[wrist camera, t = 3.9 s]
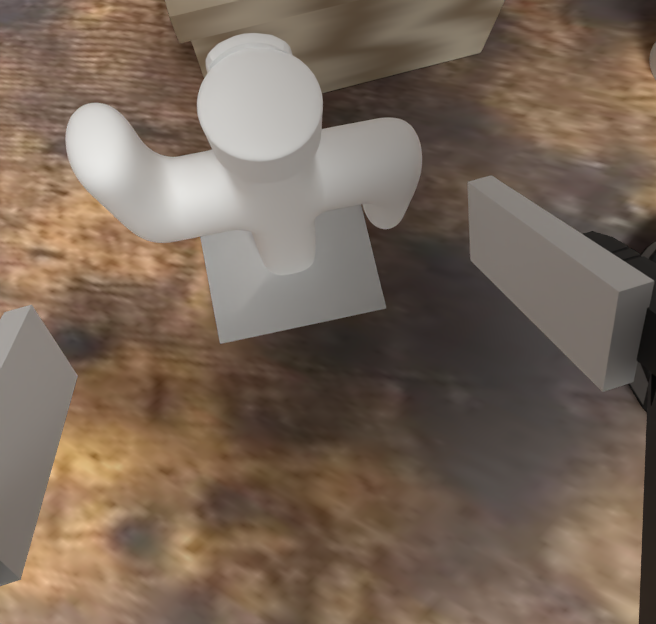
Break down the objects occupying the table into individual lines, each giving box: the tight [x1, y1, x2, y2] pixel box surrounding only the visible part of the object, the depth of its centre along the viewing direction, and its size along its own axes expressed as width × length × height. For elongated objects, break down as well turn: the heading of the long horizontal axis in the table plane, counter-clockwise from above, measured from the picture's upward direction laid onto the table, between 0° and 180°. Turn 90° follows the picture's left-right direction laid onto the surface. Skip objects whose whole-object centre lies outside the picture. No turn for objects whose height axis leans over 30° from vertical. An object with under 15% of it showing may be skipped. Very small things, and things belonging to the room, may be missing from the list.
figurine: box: [66, 33, 422, 344], centre depth 19 cm, size 7×9×15 cm
